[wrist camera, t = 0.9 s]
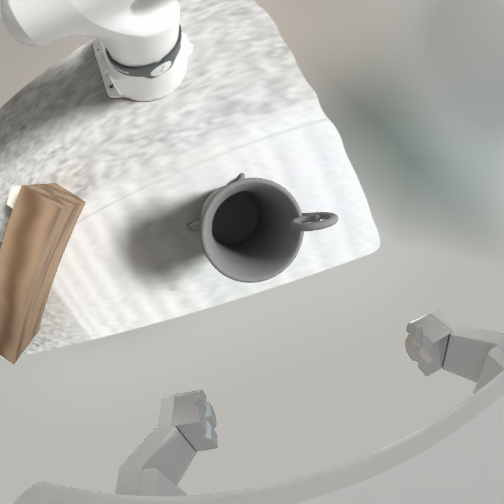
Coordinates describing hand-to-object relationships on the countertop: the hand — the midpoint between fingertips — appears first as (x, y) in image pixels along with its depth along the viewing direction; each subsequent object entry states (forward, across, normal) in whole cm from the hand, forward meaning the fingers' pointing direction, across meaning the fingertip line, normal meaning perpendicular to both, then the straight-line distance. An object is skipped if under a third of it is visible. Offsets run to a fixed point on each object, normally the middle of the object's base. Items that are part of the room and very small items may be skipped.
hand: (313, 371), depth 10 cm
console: (+41, +42, 0) cm, 59 cm away
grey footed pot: (+47, +1, +4) cm, 47 cm away
